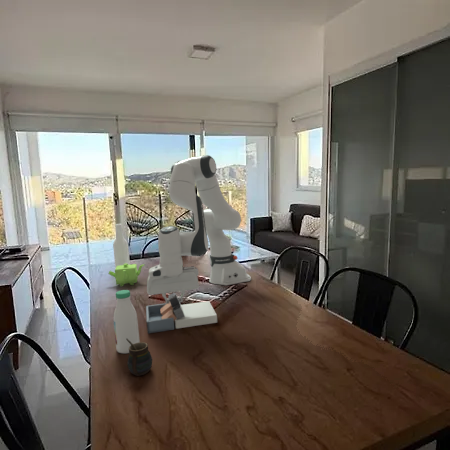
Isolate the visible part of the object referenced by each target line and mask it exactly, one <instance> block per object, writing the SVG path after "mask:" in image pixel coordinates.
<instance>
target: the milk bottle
mask: <svg viewBox="0 0 450 450" xmlns="http://www.w3.org/2000/svg"><path fill="white" fill-rule="evenodd" d="M115 298H116V306H115V309H114V312H113V329H114V330H113V332H114V339H115V347H116V352H117V353H119V354H130V353H129V347H130V346H131V344H130V343H129V342H128V341H127V340H126V339H128V340H129V341H130V342H131V343H132V344H135V343H139V342H141V341H140V332H139V321H138V314H137V311H136V309H135V307H134V305H133V303H132V301H131V291H130V290H128V289H122V290H118V291H116V292H115Z"/></svg>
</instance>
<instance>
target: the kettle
mask: <svg viewBox="0 0 450 450" xmlns="http://www.w3.org/2000/svg"><path fill="white" fill-rule="evenodd" d="M144 266H145V264H140V265H139V267H137V263H133V264H131V263H130V265H128V264H123V265H119V266H117V267H116V268H115V269H114V271H112V270H109V271H108V275H110V276H112V277H113V278H115V285H119V287H124V286H125V284H126V285H127V284H129V286H134V285H135V283H138V280H139V279H138V278H139V276H140V274H141V272H142V268H143V267H144Z"/></svg>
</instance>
